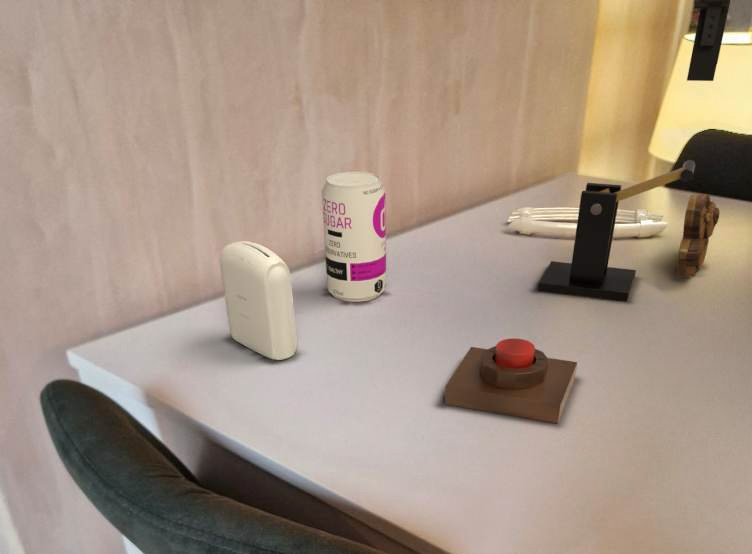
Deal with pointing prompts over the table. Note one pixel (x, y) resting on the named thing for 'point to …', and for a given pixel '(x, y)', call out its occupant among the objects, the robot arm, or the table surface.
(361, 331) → the table surface
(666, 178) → the lever
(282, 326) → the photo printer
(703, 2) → the robot arm
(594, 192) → the bracket
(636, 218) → the white piece
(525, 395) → the button block
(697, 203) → the wooden carving
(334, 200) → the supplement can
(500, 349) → the button
